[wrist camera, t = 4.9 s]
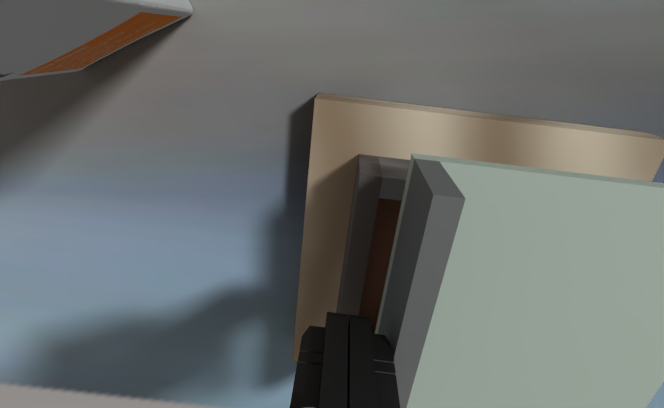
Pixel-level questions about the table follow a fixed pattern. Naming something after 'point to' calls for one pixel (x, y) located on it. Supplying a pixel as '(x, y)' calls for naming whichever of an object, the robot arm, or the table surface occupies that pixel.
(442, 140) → the socket board
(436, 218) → the cover
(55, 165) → the table surface
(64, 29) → the skincare box
